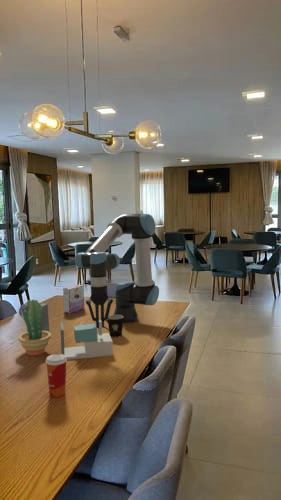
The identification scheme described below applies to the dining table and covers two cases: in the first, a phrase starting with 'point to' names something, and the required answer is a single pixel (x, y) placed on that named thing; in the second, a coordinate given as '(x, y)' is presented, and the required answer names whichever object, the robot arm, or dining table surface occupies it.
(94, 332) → the carton
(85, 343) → the display stand
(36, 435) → the dining table surface
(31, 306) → the potted cactus
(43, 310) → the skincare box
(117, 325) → the coffee mug
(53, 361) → the paper cup
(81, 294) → the candy box
